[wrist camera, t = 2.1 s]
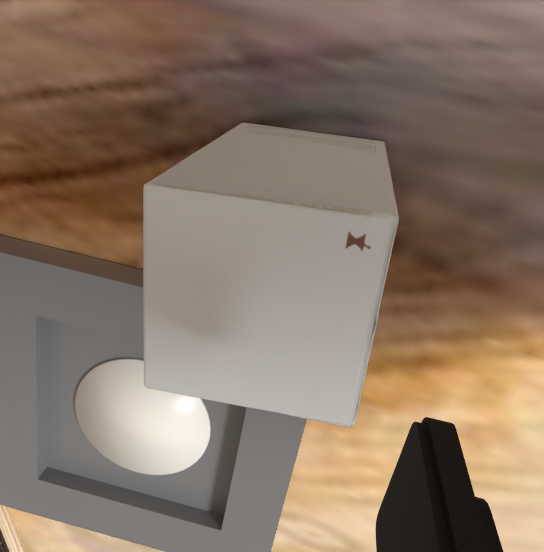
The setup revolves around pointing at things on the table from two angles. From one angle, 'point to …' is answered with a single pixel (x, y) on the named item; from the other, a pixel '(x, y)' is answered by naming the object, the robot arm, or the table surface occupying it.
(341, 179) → the supplement box
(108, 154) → the table surface
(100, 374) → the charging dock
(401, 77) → the table surface
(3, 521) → the hardcover book
